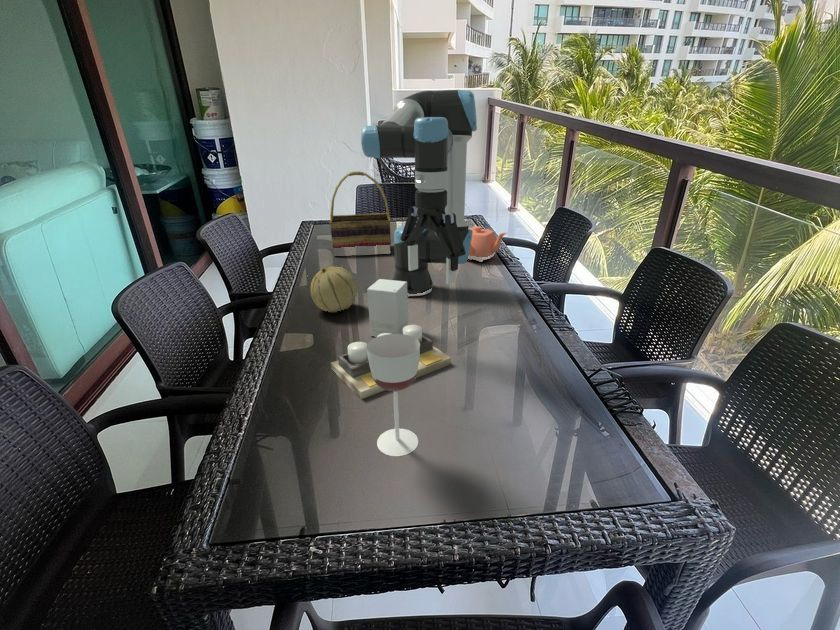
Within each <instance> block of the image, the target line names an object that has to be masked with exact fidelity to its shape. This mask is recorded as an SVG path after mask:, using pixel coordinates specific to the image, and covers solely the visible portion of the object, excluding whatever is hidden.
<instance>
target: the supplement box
mask: <svg viewBox="0 0 840 630" xmlns="http://www.w3.org/2000/svg"><path fill="white" fill-rule="evenodd" d="M366 292H367V303H368V305H367V306H368V314H369V315H368V316H369V329H370V337H371V336H378V335H379V334H382V333H392V334H403V328H404V327H405V326H407V325H410V323H409V301H408V298H409V297H408V295H407V282H405V281H395V280H392V279H383V278H379V279H377V280H376V281H375V282H374V283H373V284H372V285H370V286H369V287H368V288H367V289H366Z"/></svg>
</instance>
